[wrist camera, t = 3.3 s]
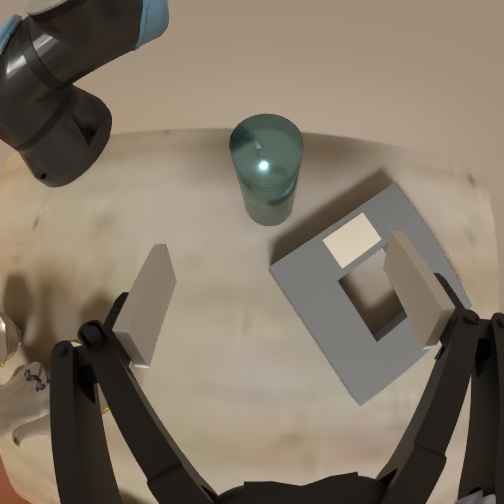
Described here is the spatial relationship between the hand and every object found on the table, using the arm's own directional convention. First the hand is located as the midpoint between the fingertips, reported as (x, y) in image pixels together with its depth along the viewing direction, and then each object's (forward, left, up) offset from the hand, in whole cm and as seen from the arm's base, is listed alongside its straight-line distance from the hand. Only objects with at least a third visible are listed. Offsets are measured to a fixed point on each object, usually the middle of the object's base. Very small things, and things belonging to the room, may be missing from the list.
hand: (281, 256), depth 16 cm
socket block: (+7, +8, -13) cm, 16 cm away
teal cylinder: (-7, +4, -13) cm, 15 cm away
